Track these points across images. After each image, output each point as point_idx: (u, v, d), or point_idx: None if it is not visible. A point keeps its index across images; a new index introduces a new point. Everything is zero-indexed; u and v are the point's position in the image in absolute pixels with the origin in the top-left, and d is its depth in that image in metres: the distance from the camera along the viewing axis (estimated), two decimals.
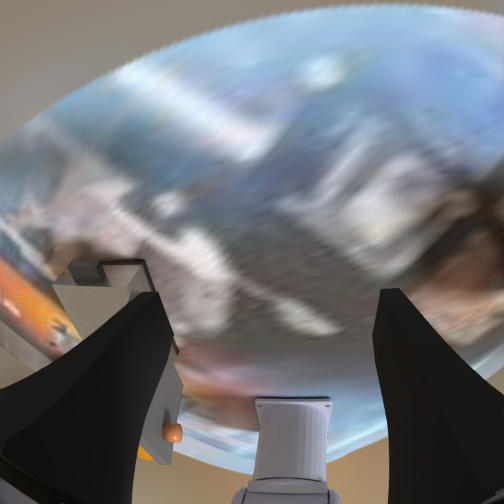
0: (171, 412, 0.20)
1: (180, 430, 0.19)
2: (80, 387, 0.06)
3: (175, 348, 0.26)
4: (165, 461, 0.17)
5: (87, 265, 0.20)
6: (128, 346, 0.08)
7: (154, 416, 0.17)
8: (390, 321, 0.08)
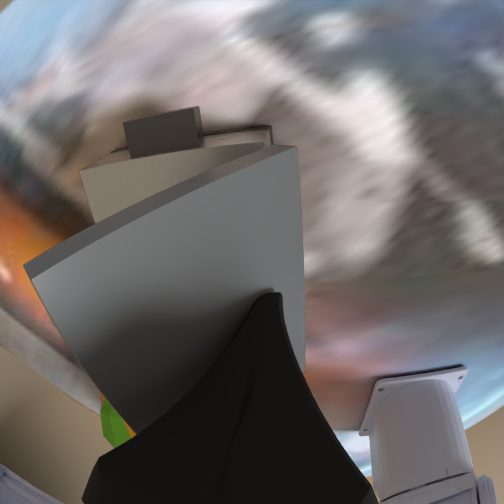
0: None
1: None
2: None
3: None
4: None
5: (173, 111, 0.10)
6: None
7: None
8: None
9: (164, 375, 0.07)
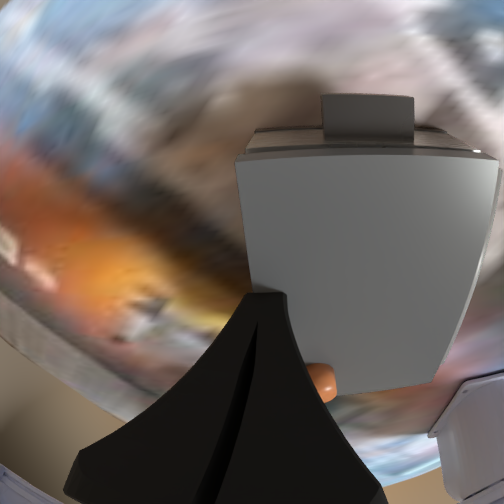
0: (364, 376, 0.11)
1: (326, 397, 0.11)
2: (230, 413, 0.05)
3: None
4: None
5: (389, 95, 0.08)
6: (254, 355, 0.07)
7: (320, 335, 0.10)
8: None
9: (302, 282, 0.09)
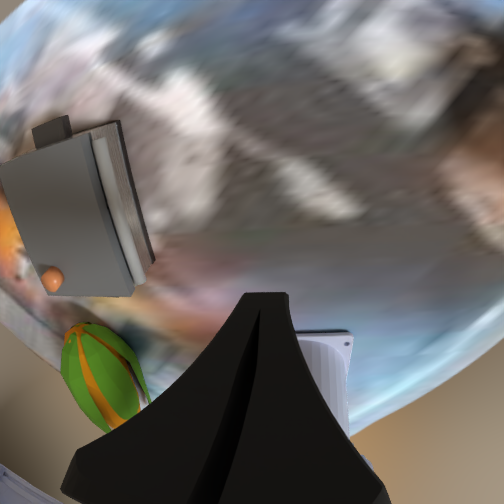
0: (80, 280, 0.18)
1: (53, 286, 0.17)
2: (226, 413, 0.05)
3: (150, 252, 0.21)
4: (44, 286, 0.19)
5: (53, 120, 0.14)
6: (251, 355, 0.07)
7: (44, 245, 0.17)
8: None
9: (26, 215, 0.16)
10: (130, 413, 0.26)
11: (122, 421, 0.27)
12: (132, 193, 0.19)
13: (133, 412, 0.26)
